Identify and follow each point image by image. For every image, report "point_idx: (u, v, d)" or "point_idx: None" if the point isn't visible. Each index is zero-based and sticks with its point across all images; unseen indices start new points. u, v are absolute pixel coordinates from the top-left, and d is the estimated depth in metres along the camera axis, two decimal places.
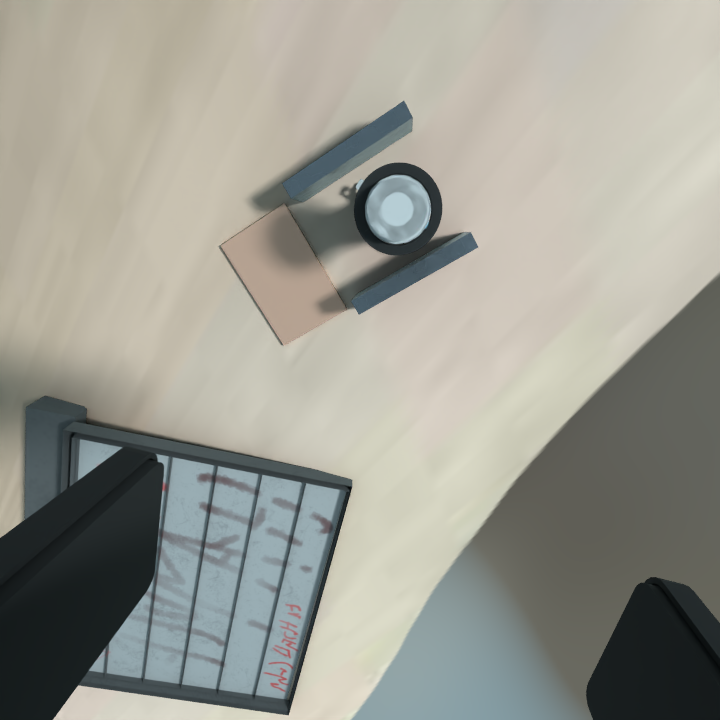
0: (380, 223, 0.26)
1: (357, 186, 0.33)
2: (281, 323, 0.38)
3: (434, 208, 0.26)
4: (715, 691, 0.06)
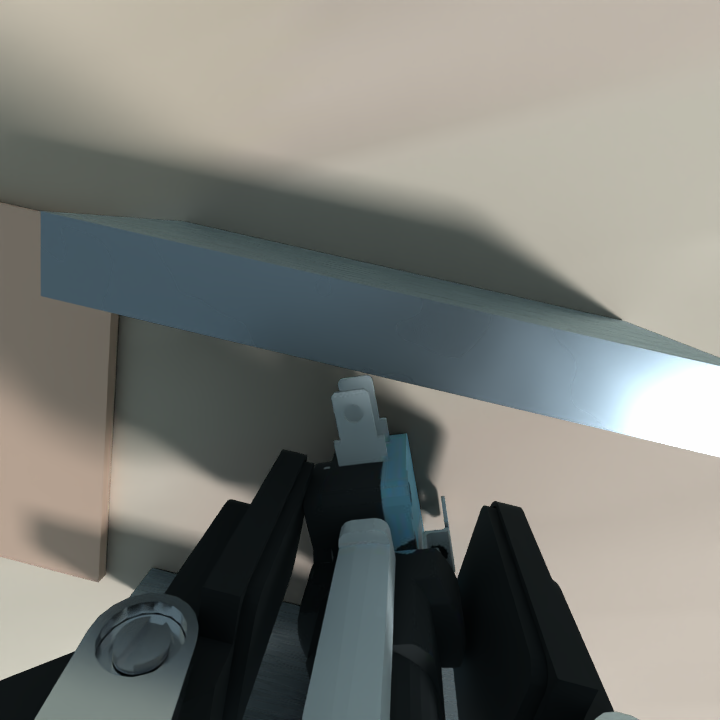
0: None
1: (339, 398, 0.09)
2: None
3: None
4: (503, 575, 0.07)
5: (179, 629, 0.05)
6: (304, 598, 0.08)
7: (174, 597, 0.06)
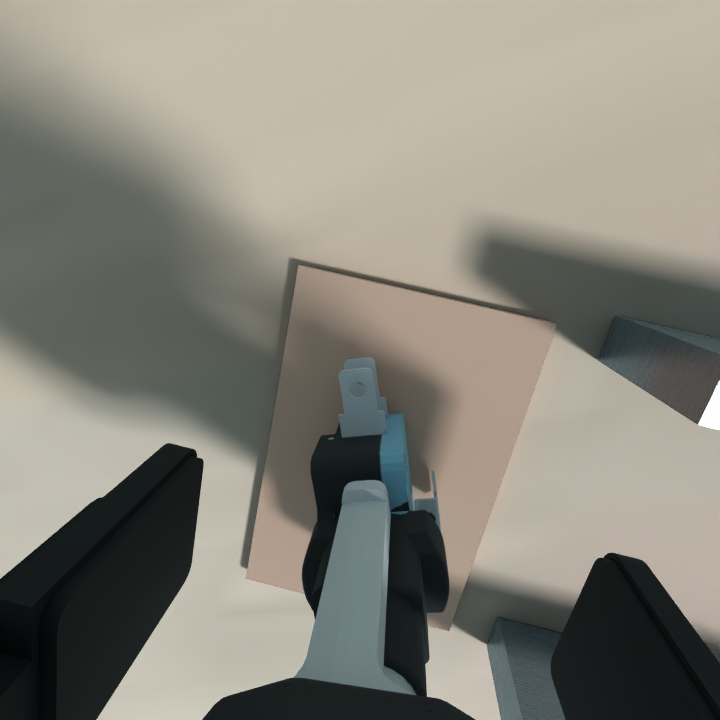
0: None
1: (345, 375, 0.10)
2: (282, 539, 0.13)
3: None
4: (656, 652, 0.06)
5: None
6: (309, 548, 0.09)
7: None
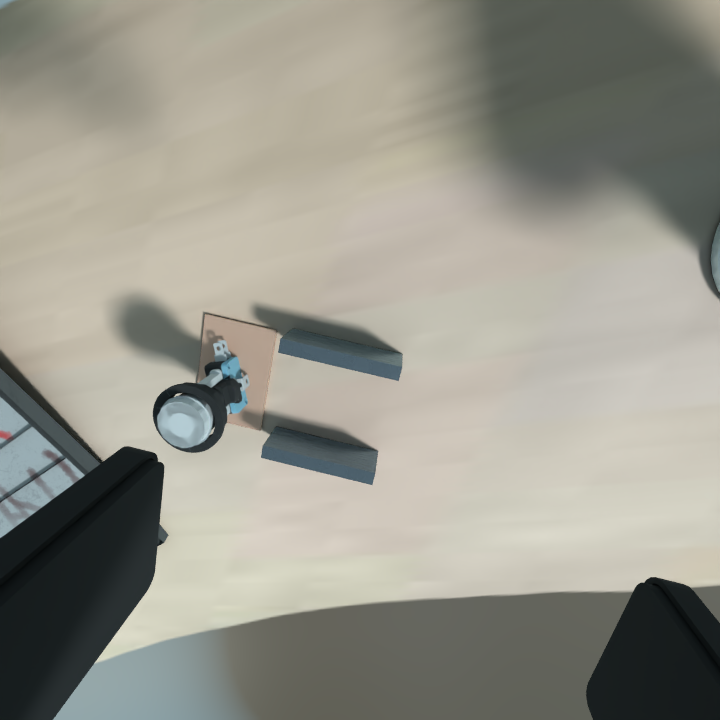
0: (163, 422, 0.31)
1: (215, 344, 0.38)
2: None
3: (210, 439, 0.32)
4: (715, 691, 0.06)
5: None
6: None
7: None
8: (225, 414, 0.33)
